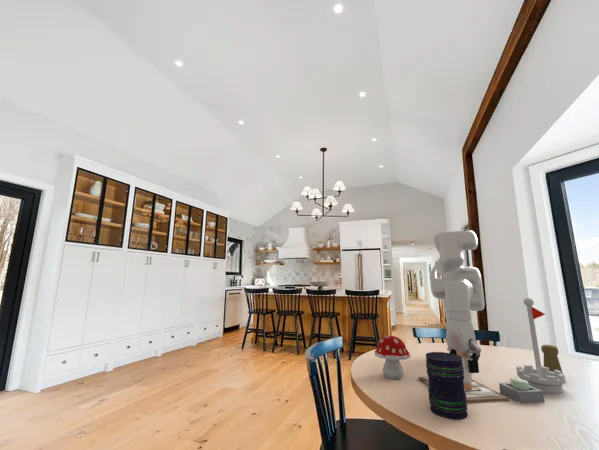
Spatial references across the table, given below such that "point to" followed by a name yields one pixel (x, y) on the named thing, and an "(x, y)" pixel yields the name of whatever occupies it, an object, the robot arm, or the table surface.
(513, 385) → the button
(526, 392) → the button housing
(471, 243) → the robot arm
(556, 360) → the cork
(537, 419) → the table surface
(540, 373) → the flag stand
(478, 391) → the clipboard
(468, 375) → the marker
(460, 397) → the navy striped cylinder
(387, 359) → the decorative mushroom
